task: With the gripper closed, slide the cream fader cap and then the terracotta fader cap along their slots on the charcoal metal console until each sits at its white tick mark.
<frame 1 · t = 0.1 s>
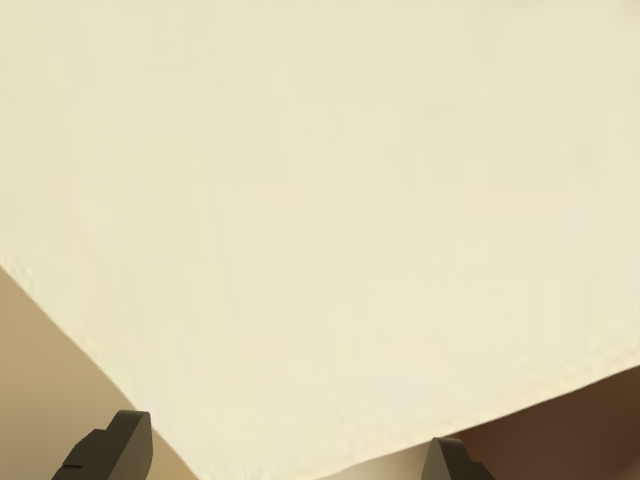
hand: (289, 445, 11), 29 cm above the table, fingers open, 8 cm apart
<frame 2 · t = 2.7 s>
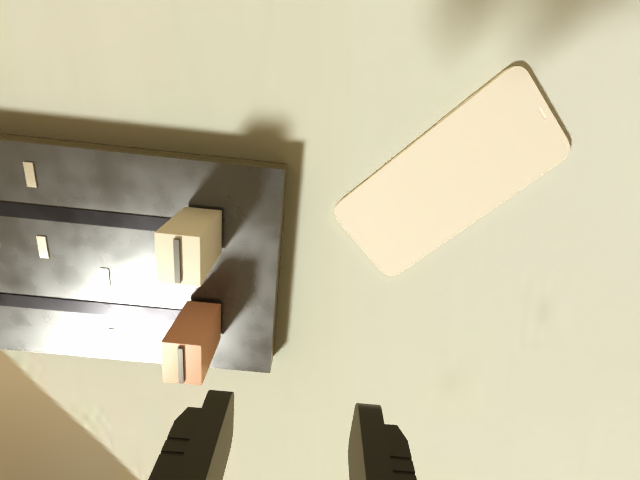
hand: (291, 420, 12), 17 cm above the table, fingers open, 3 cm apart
fader 2: (191, 244, 23), point 5 cm above the table, slide at 0.0 cm
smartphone: (444, 179, 27), on the table
fader 1: (193, 341, 26), point 5 cm above the table, slide at 0.0 cm
console: (118, 254, 29), on the table
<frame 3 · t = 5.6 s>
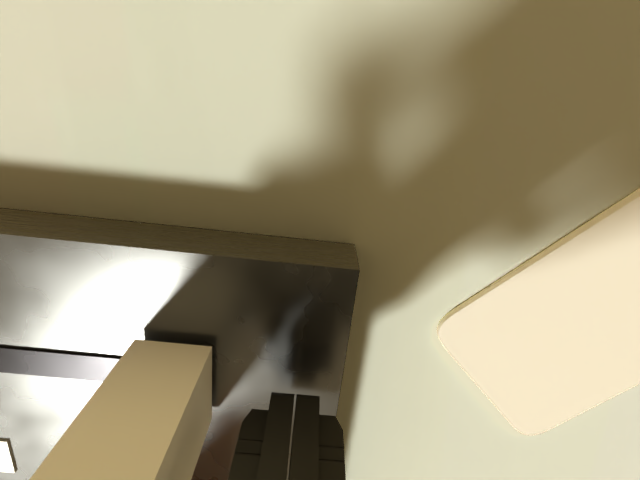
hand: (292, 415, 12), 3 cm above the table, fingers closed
fader 2: (141, 447, 10), point 5 cm above the table, slide at 0.5 cm, touching gripper
console: (37, 394, 16), on the table
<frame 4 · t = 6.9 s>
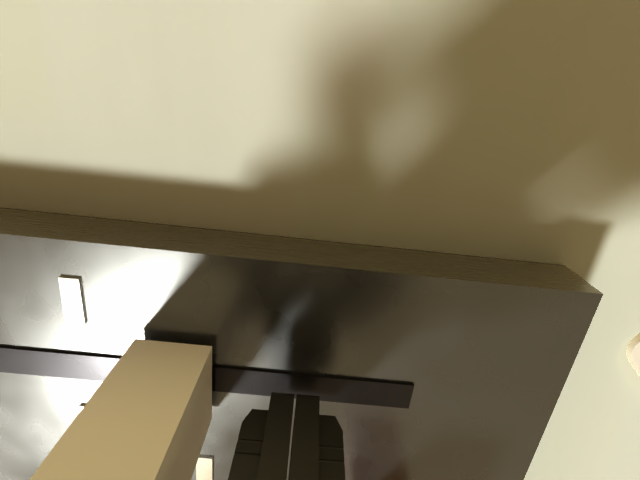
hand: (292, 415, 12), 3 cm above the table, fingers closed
fader 2: (141, 446, 10), point 5 cm above the table, slide at 7.9 cm, touching gripper
console: (218, 409, 16), on the table
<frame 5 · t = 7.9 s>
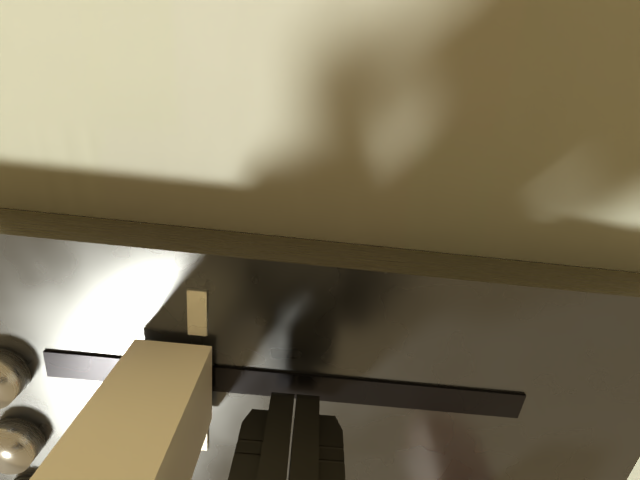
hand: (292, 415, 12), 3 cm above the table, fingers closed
fader 2: (141, 446, 10), point 5 cm above the table, slide at 11.7 cm, touching gripper
console: (309, 417, 16), on the table
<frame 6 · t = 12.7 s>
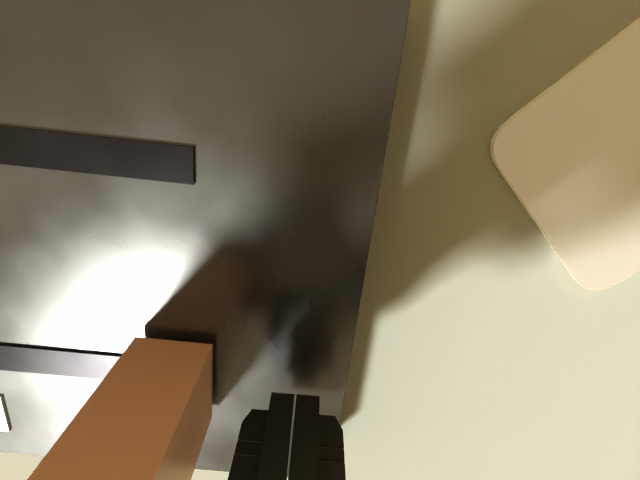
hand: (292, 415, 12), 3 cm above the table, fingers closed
fader 1: (141, 444, 10), point 5 cm above the table, slide at 0.6 cm, touching gripper
console: (9, 233, 13), on the table
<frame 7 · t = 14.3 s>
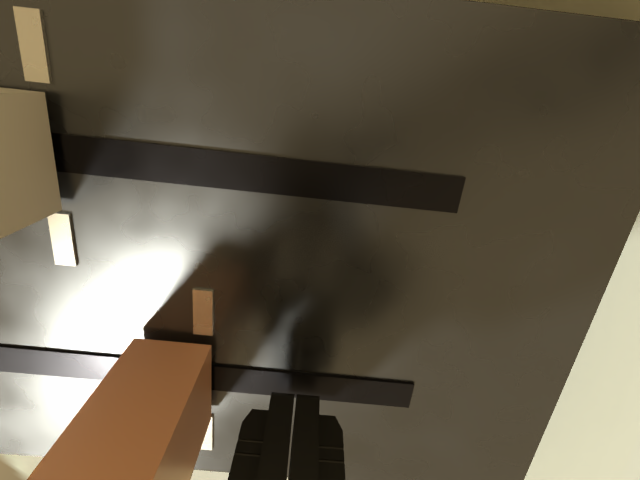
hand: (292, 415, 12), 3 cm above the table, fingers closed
fader 1: (140, 445, 10), point 5 cm above the table, slide at 7.9 cm, touching gripper
console: (220, 255, 13), on the table
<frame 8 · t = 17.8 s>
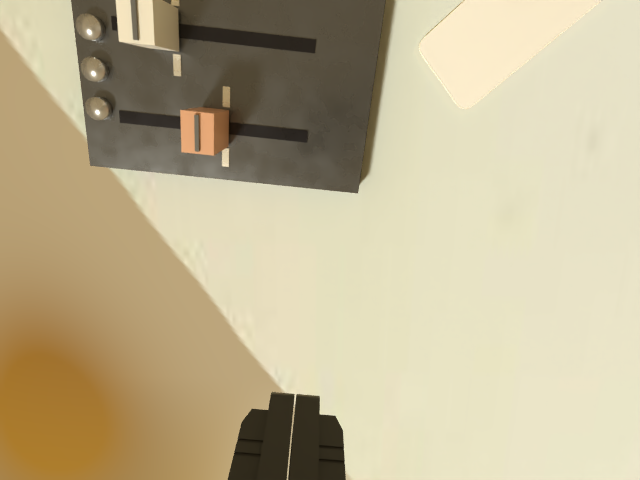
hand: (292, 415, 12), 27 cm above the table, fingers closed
fader 2: (149, 23, 28), point 5 cm above the table, slide at 11.9 cm
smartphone: (512, 16, 32), on the table
fader 1: (206, 130, 30), point 5 cm above the table, slide at 7.9 cm
console: (232, 84, 34), on the table
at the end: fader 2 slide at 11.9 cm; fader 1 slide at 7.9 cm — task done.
